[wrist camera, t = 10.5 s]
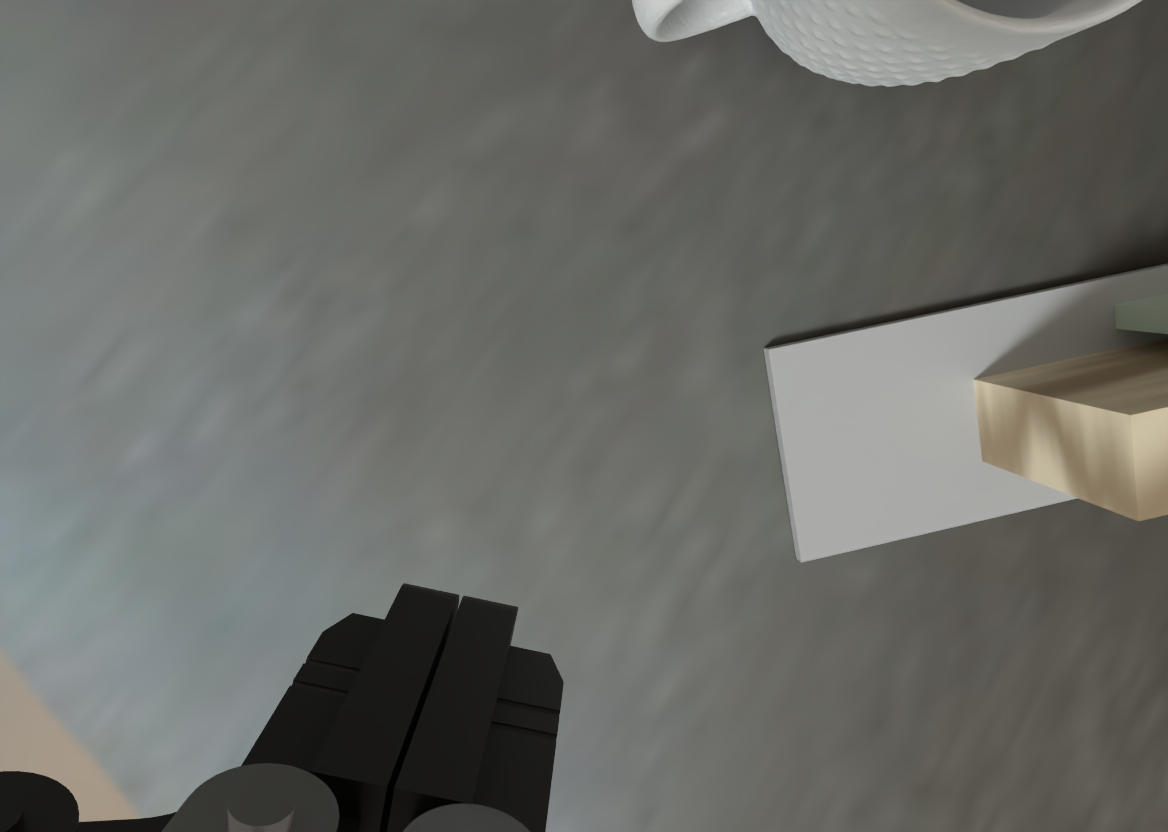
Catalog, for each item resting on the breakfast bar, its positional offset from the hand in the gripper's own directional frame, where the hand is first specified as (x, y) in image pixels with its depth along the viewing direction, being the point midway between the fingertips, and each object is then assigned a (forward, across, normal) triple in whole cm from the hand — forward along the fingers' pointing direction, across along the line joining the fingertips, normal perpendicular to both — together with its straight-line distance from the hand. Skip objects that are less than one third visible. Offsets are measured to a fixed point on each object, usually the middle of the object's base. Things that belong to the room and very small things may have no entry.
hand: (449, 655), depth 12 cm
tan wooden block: (+27, -23, 0) cm, 36 cm away
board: (+27, -20, +1) cm, 34 cm away
